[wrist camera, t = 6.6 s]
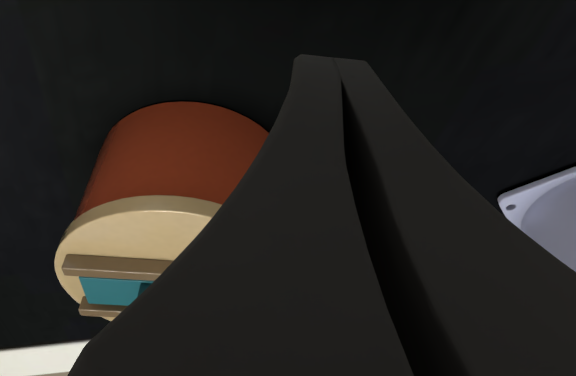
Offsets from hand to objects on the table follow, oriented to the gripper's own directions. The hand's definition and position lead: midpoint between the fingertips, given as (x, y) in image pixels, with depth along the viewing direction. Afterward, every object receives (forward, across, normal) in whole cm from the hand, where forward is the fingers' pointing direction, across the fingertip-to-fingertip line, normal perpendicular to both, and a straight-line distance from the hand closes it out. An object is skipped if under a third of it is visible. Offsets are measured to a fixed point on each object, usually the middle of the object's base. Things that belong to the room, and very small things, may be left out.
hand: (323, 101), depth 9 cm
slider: (+3, +6, +13) cm, 15 cm away
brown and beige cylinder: (+10, +4, +13) cm, 17 cm away
